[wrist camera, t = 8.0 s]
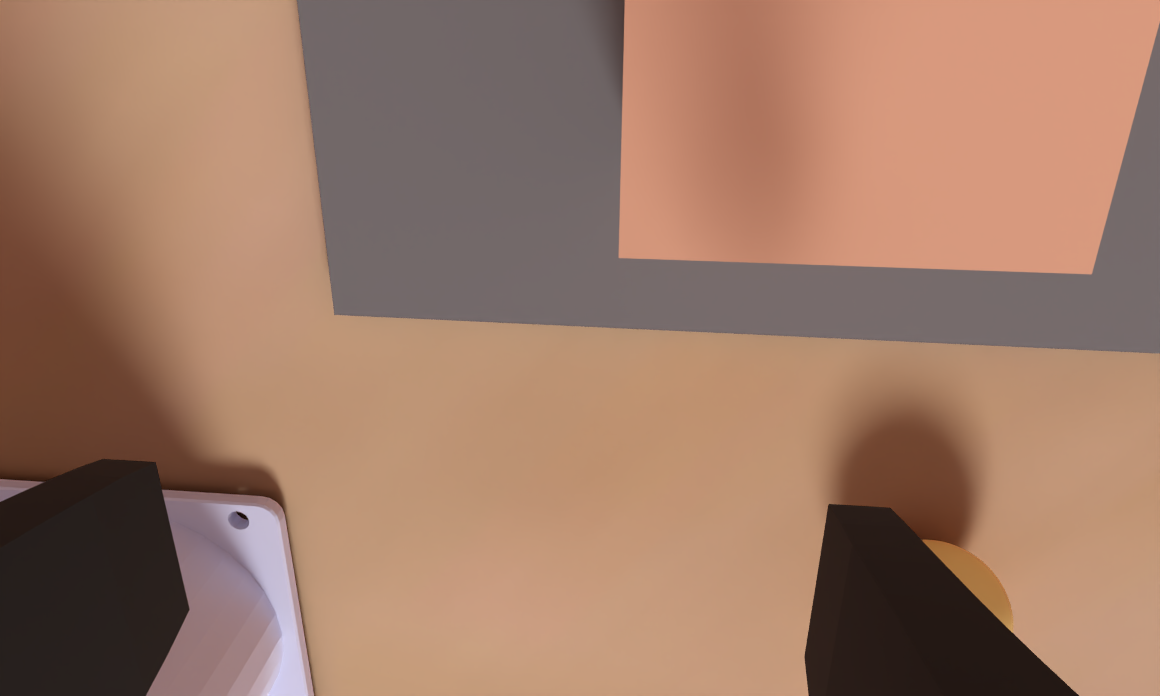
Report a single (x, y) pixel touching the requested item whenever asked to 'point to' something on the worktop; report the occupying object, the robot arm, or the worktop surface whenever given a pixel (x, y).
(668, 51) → the salmon pink cube
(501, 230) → the mat
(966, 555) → the ball
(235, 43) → the worktop surface
